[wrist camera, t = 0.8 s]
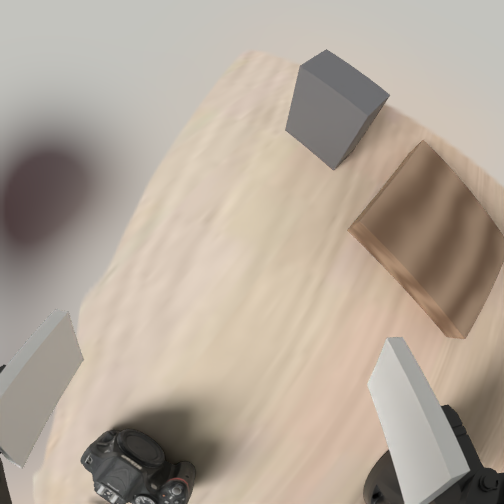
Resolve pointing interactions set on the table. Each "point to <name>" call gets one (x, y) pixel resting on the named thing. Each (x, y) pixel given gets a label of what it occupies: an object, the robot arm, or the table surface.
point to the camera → (136, 470)
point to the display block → (434, 240)
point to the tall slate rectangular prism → (332, 107)
